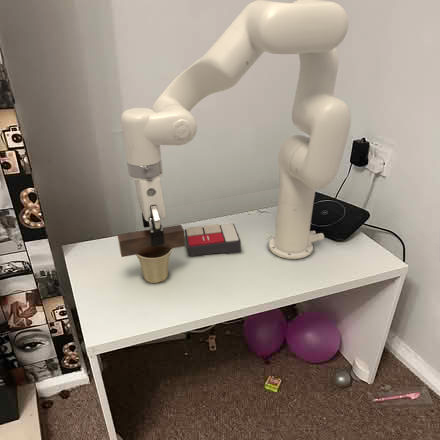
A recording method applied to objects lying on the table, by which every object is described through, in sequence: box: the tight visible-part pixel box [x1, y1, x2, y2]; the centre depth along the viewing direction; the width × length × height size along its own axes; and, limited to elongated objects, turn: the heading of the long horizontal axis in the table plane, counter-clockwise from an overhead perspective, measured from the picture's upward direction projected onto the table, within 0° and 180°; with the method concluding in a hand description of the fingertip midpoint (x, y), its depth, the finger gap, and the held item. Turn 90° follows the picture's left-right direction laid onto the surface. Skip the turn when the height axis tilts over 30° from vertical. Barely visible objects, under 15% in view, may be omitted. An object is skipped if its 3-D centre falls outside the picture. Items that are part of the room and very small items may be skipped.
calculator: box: [184, 222, 242, 257], centre depth 127 cm, size 11×4×15 cm
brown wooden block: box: [117, 224, 186, 258], centre depth 109 cm, size 16×3×5 cm, turn 109°
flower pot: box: [136, 248, 173, 284], centre depth 113 cm, size 9×9×9 cm
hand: (153, 235), depth 108 cm, fingers open, 9 cm apart
